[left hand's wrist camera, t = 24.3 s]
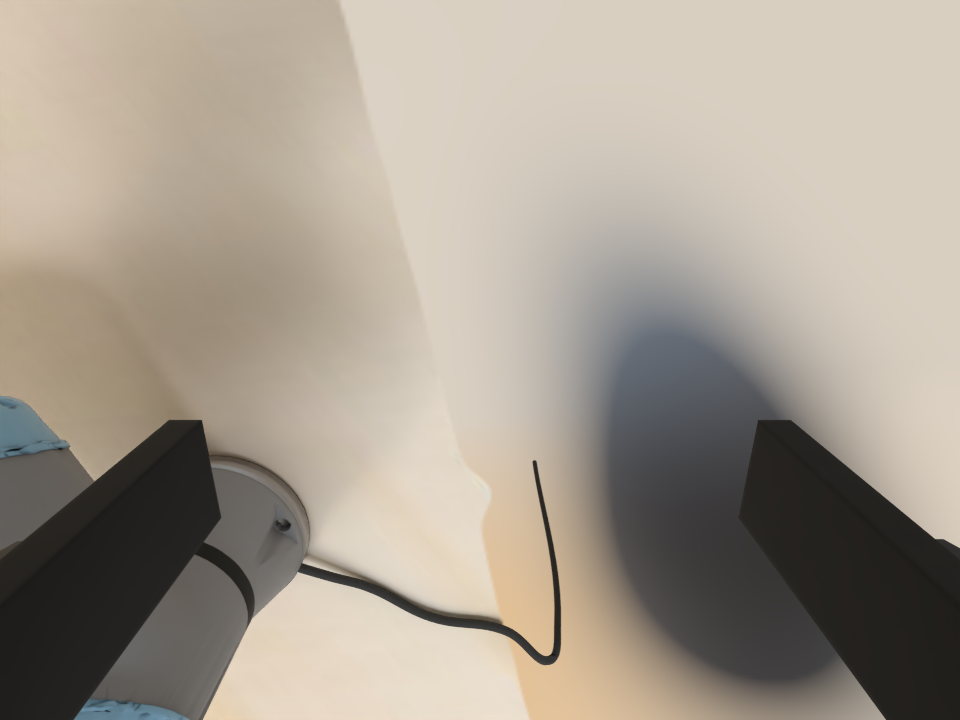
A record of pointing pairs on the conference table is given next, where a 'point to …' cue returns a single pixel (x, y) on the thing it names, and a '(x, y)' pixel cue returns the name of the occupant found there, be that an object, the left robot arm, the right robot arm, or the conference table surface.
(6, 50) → the conference table surface
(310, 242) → the conference table surface
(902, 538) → the left robot arm
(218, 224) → the conference table surface
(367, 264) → the conference table surface
